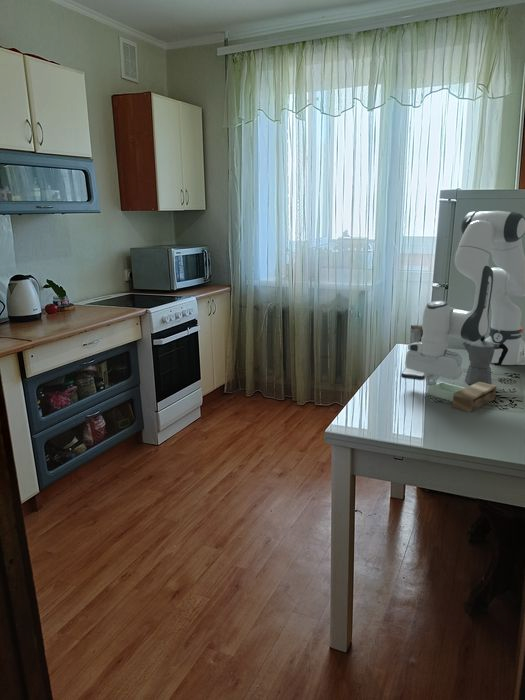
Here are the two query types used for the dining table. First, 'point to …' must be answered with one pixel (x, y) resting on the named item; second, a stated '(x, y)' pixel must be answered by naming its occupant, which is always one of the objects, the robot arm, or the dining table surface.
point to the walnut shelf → (474, 396)
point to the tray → (444, 390)
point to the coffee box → (416, 333)
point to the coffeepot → (482, 360)
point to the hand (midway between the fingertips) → (431, 385)
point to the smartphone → (412, 374)
